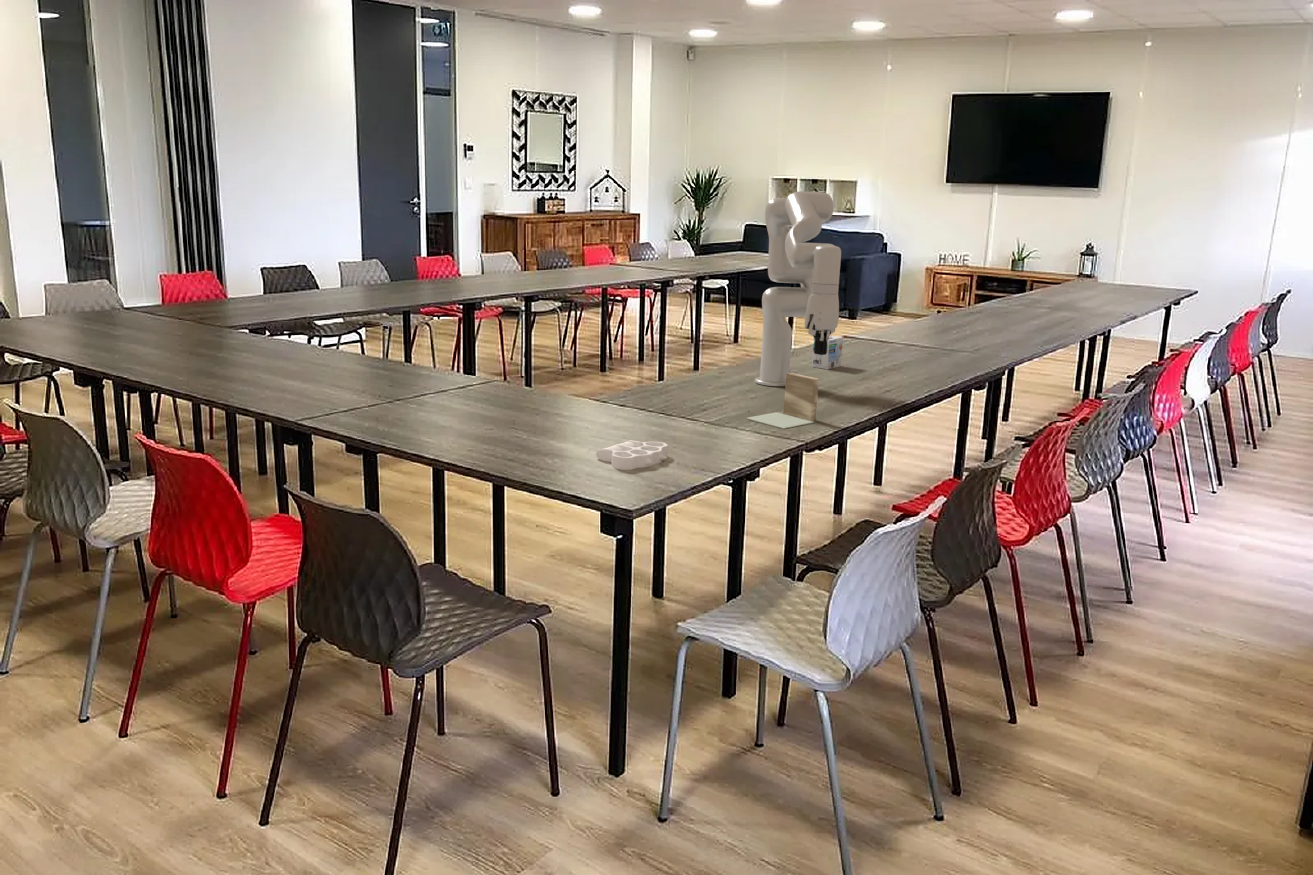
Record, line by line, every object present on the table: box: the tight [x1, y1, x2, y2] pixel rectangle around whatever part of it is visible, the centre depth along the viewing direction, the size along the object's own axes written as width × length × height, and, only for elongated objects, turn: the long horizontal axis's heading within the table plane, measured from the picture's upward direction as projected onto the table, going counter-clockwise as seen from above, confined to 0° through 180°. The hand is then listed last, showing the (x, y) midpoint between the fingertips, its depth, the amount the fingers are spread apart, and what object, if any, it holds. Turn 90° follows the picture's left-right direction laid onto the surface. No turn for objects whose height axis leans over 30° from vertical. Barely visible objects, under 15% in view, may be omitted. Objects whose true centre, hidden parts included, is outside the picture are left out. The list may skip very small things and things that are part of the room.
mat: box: [745, 411, 815, 430], centre depth 298 cm, size 13×14×1 cm
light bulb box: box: [811, 334, 844, 370], centre depth 383 cm, size 11×7×11 cm, turn 143°
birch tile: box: [782, 373, 820, 422], centre depth 303 cm, size 2×10×12 cm, turn 43°
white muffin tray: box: [595, 440, 669, 471], centre depth 253 cm, size 3×18×15 cm
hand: (820, 354), depth 304 cm, fingers closed
